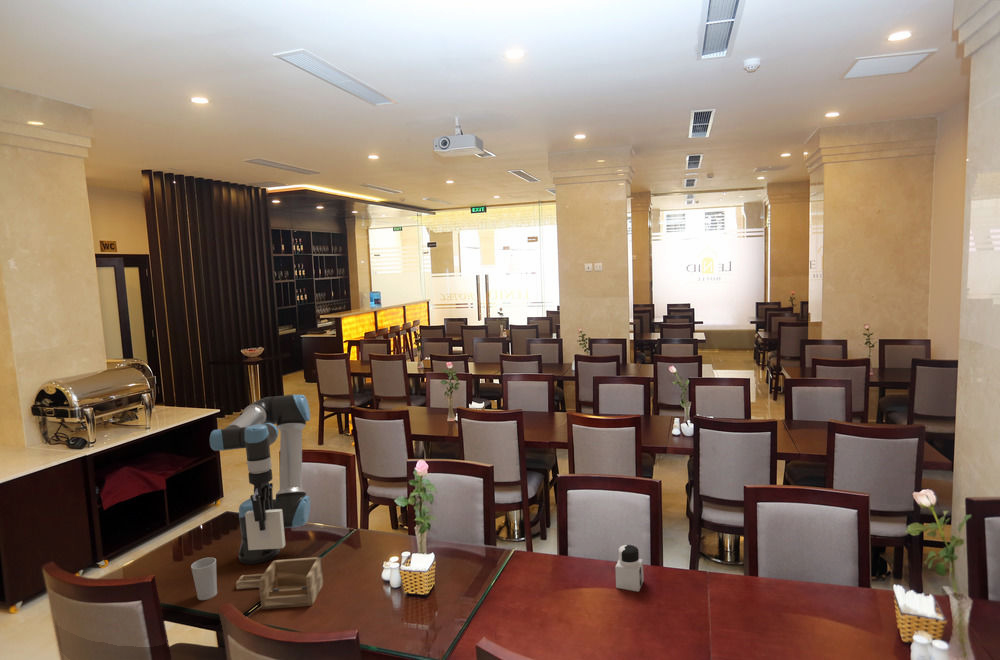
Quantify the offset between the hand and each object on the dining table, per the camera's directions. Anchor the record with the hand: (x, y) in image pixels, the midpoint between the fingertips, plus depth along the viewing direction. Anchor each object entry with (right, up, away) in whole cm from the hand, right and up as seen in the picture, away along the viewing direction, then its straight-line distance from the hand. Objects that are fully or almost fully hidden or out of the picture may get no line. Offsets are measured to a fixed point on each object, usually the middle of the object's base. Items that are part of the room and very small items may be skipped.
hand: (266, 536), depth 204 cm
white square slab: (0, -4, 0) cm, 4 cm away
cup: (-23, -23, +5) cm, 33 cm away
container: (+125, -15, -5) cm, 126 cm away
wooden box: (+9, -21, +1) cm, 23 cm away
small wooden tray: (-7, -21, +10) cm, 24 cm away
